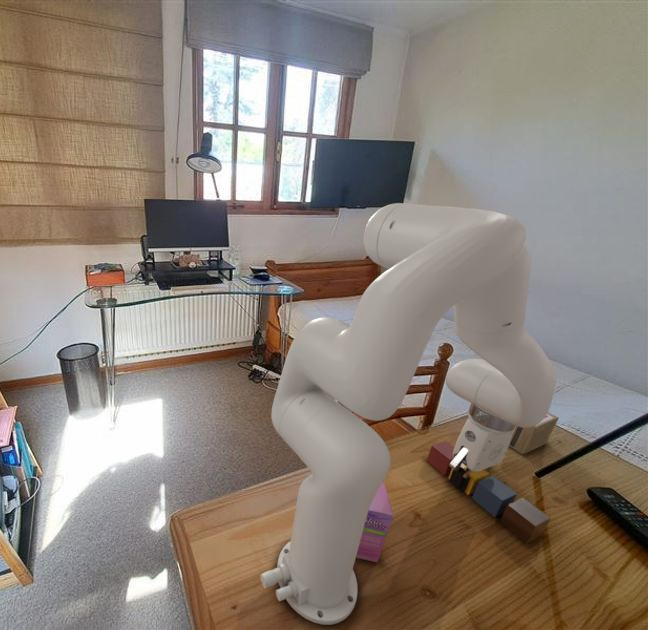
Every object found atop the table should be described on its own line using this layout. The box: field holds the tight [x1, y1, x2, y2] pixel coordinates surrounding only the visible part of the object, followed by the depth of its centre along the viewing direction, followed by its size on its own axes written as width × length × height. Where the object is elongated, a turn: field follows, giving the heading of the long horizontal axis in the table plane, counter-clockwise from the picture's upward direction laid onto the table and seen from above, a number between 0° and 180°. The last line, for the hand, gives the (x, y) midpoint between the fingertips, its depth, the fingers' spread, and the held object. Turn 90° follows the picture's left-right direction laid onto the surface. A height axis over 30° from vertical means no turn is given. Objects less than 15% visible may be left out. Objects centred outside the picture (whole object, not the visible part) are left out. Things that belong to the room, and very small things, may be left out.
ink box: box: [509, 412, 560, 455], centre depth 84 cm, size 10×4×8 cm, turn 113°
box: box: [356, 480, 394, 563], centre depth 60 cm, size 10×6×12 cm, turn 168°
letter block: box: [448, 463, 490, 496], centre depth 73 cm, size 5×5×5 cm
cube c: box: [426, 440, 455, 476], centre depth 77 cm, size 5×5×5 cm
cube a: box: [499, 497, 551, 544], centre depth 63 cm, size 5×5×5 cm
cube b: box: [471, 475, 518, 518], centre depth 68 cm, size 5×5×5 cm
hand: (465, 482), depth 73 cm, fingers closed on letter block, 4 cm apart
